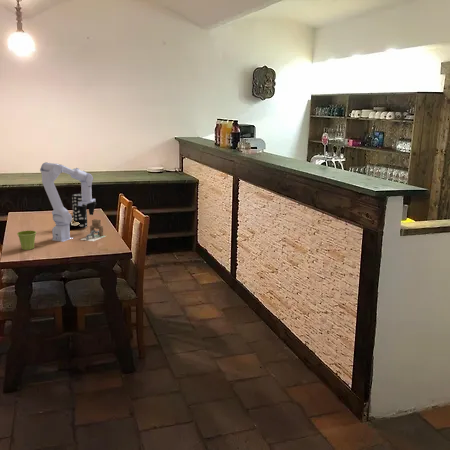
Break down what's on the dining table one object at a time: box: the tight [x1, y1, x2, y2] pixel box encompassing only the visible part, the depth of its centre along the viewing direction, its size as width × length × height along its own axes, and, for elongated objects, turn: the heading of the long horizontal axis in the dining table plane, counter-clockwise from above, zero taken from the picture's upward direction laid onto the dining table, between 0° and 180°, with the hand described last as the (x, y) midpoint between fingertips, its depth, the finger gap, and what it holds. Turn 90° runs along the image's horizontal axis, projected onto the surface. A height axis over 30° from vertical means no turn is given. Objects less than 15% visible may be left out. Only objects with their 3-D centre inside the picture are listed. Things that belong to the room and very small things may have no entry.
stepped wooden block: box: [89, 219, 104, 237], centre depth 297 cm, size 2×7×9 cm, turn 70°
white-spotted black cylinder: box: [71, 193, 88, 229], centre depth 319 cm, size 8×8×20 cm
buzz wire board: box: [80, 229, 104, 242], centre depth 293 cm, size 13×9×5 cm
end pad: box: [90, 233, 106, 239], centre depth 297 cm, size 4×8×1 cm, turn 70°
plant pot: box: [16, 230, 37, 251], centre depth 270 cm, size 9×9×9 cm
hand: (87, 215), depth 304 cm, fingers open, 7 cm apart
